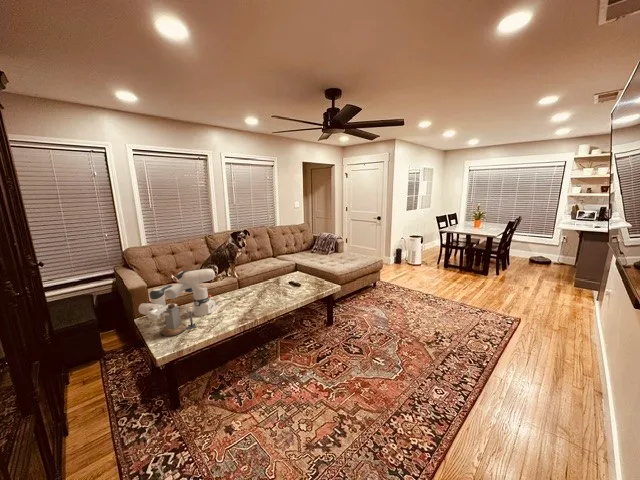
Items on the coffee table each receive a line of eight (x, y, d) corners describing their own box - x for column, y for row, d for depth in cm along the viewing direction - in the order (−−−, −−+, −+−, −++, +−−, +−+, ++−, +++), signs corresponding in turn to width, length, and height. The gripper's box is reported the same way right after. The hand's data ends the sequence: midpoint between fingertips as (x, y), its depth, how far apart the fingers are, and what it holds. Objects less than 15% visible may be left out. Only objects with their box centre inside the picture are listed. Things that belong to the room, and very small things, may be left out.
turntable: (173, 324, 208) (172, 321, 207) (190, 326, 204) (190, 322, 204) (157, 334, 192) (156, 331, 192) (175, 336, 189) (175, 333, 188)
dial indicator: (188, 326, 205) (186, 306, 202) (195, 324, 208) (193, 304, 205) (188, 329, 201) (186, 308, 198) (195, 327, 203) (193, 307, 200)
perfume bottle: (180, 325, 200) (178, 303, 197) (174, 329, 194) (171, 307, 190) (173, 324, 202) (171, 302, 198) (166, 328, 195) (163, 306, 192)
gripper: (169, 308, 209) (183, 309, 206) (146, 320, 190) (162, 322, 186) (168, 300, 208) (182, 302, 205) (145, 312, 188) (161, 314, 185)
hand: (173, 312), depth 195 cm, fingers closed on perfume bottle, 5 cm apart
